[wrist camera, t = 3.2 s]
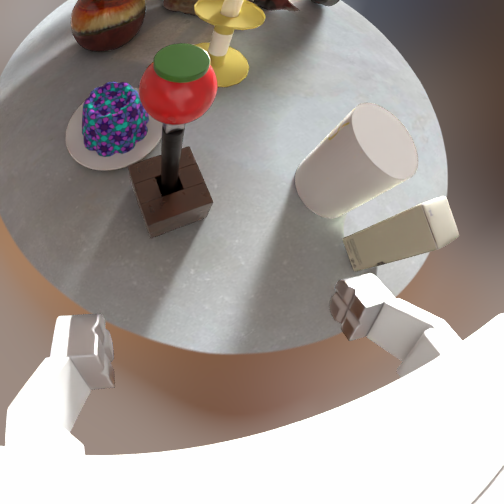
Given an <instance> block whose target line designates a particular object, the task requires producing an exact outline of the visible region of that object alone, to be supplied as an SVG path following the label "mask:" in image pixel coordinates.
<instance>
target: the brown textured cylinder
mask: <svg viewBox="0 0 504 504" xmlns="http://www.w3.org/2000/svg"><path fill="white" fill-rule="evenodd" d="M197 1H198V0H164V2H163V5H164V7H165V8H166V9H168V10H171V11H182V12H184V13H185V14H191V15H196V14H195V10H194V5H195V4H196V2H197Z"/></svg>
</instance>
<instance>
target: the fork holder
mask: <svg viewBox="0 0 504 504" xmlns="http://www.w3.org/2000/svg"><path fill="white" fill-rule="evenodd" d="M128 169H129V174H130V178H131V183H132V187H133V190H134V193H135V196H136V199H137V202H138V205H139V208H140V211H141V214H142V216H143V219H144V222H145V225H146V228H147V230H148V233H149V236H150V238H154V237H156V236H159V235H161V234H164V233H167V232H169V231H172V230H174V229H177V228H180V227H182V226H185V225H188V224H190V223H193V222H196V221H198V220H201V219H204V218H206V217H207V215H208V212H209V210H210V208H211V206H212V204H213V200H212V198H211V196H210V193H209V191H208V188H207V186H206V184H205V181H204V179H203V177H202V174H201V172H200V170H199V167H198V165H197V163H196V160H195V158H194V156H193V153H192V151H191V149H190V147H185V148H182V150H181V157H180V164H179V172H178V180H177V189H176V192H175V193H172V194H169V195H166V196H163V197H162V195H161V155H159V156H156V157H153V158H150V159H147V160H144V161H141V162H138V163H135V164H132V165H129V166H128Z"/></svg>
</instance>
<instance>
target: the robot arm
mask: <svg viewBox="0 0 504 504" xmlns="http://www.w3.org/2000/svg"><path fill="white" fill-rule="evenodd" d="M335 290H336V292H335V294H334V295H333V296H332V297H331V300H330V303H329V307H330V312H331V315H332V317H333V318H334V320H335V321H337V322H339V323H341V330H342V332H343V333H344V334H345V336H346V337H347V339H348V340H349V341H352V340H356V339H359V338H362V337H365V336H367V338H368V339H370V340H371V341H373V342H374V343H376V344H377V345H379V346H380V347H382V348H384V349H385V350H386V351H388V352H389V353H391V354H392V355H394V356H395V357H397V358H398V359H400V360H401V361H403V362H402V363H401V365H400V366H399V367H398V368H397V373H398V374H399V376H400V377H401V378H400V379H398V380H396V381H394V382H393V383H391V384H389V385H387V386H385V387H383V388H380V389H378V390H377V391H374V392H372V393H370V394H368V395H366V396H364V397H361V398H359V399H357V400H354V401H352V402H350V403H347V404H345V405H342V406H340V407H338V408H335V409H332V410H330V411H327V412H325V413H322V414H319V415H317V416H314V417H311V418H308V419H305V420H303V421H299V422H296V423H293V424H290V425H287V426H284V427H281V428H277V429H274V430H270V431H267V432H263V433H260V434H256V435H252V436H248V437H243V438H239V439H235V440H230V441H226V442H221V443H216V444H211V445H206V446H200V447H194V448H187V449H181V450H173V451H165V452H156V453H144V454H128V455H85V448H84V445H83V444H82V443H81V442H80V441H79V440H78V439H76V438H75V437H74V436H73V435H72V434H70V432H71V430H72V428H73V426H74V423H75V422H76V420H77V418H78V416H79V413H80V412H81V410H82V408H83V406H84V404H85V402H86V400H87V398H88V396H89V394H90V392H91V390H92V389H105V388H115V382H114V381H115V380H114V369H113V367H112V365H111V362H112V361H113V359H114V350H113V343H112V339H111V335H110V333H109V331H108V330H107V329H105V319H104V317H103V314H101V313H99V314H83V315H72V316H59V317H58V318H57V320H56V324H55V330H54V335H53V341H52V347H51V353H50V358H46V359H45V360H44V361H43V362H42V363H41V365H40V366H39V367H38V368H37V370H36V371H35V372H34V373H33V375H32V376H31V377H30V379H29V380H28V381H27V382H26V384H25V385H24V387H23V388H22V389H21V390H20V392H19V393H18V394H17V396H16V397H15V399H14V400H13V401H12V403H11V404H10V406H9V407H8V410H7V422H6V435H5V447H3V446H0V504H504V314H499V315H497V316H496V317H495V318H493V319H492V320H491V321H489V322H488V323H487V324H486V325H484V326H483V327H482V328H480V329H479V330H477V331H476V332H475V333H473V334H472V335H471V336H469V337H468V338H466V339H465V340H463V341H462V340H461V339H460V337H459V336H458V335H457V334H456V333H455V332H454V330H453V329H452V328H451V327H450V326H449V325H448V324H447V322H446V321H445V320H443V319H441V318H439V317H437V316H435V315H433V314H431V313H429V312H426V311H425V310H422V309H420V308H418V307H416V306H414V305H412V304H410V303H408V302H406V301H404V300H402V299H396V298H395V297H394V296H393V294H392V293H391V292H390V291H389V290H388V289H387V288H386V287H385V286H384V285H383V284H382V282H381V281H380V280H379V279H378V278H377V277H376V276H375V275H374V274H372V273H369V274H364V275H360V276H354V277H349V278H345V279H340V280H339V281H338V282H337V283H336V285H335Z"/></svg>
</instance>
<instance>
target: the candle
mask: <svg viewBox="0 0 504 504" xmlns="http://www.w3.org/2000/svg"><path fill="white" fill-rule="evenodd" d="M194 10H195V14H196V15H197V16H198V17H199V18H200V19H202V20H203V21H205V22H207V23H210V24H212V25H214V26H215V27H214V30H213V34H212V37H211V41H210V43H200V44H196V45H195V46H198V47H200V48H202V49H203V50H205V51H206V52H207V53H208V55H209V57H210V65H211V67H212V68H213V70H214V72H215V74H216V78H217V87H229V86H232V85H235V84H239V83H240V82H241V81H242V80H243V79H245V78H246V77H247V74H248V70H249V66H248V62H247V59H246V58H245V57H244V56H243V55H242V54H241V53H240V52H239V51H237V50H235V49H234V48H232V47H230V46H229V44H230V41H231V38H232V35H233V33H234V30H235V29H236V30H247V29H254V28H257V27H258V26H260V25H262V24H263V23H264V20H265V18H266V16H265V14H264V12H263V10H262V9H260V8H259V7H258V6H257V5H255V4H254V3H252V2H249V1H247V0H198V1H197V2H196V4H195V5H194Z"/></svg>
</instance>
